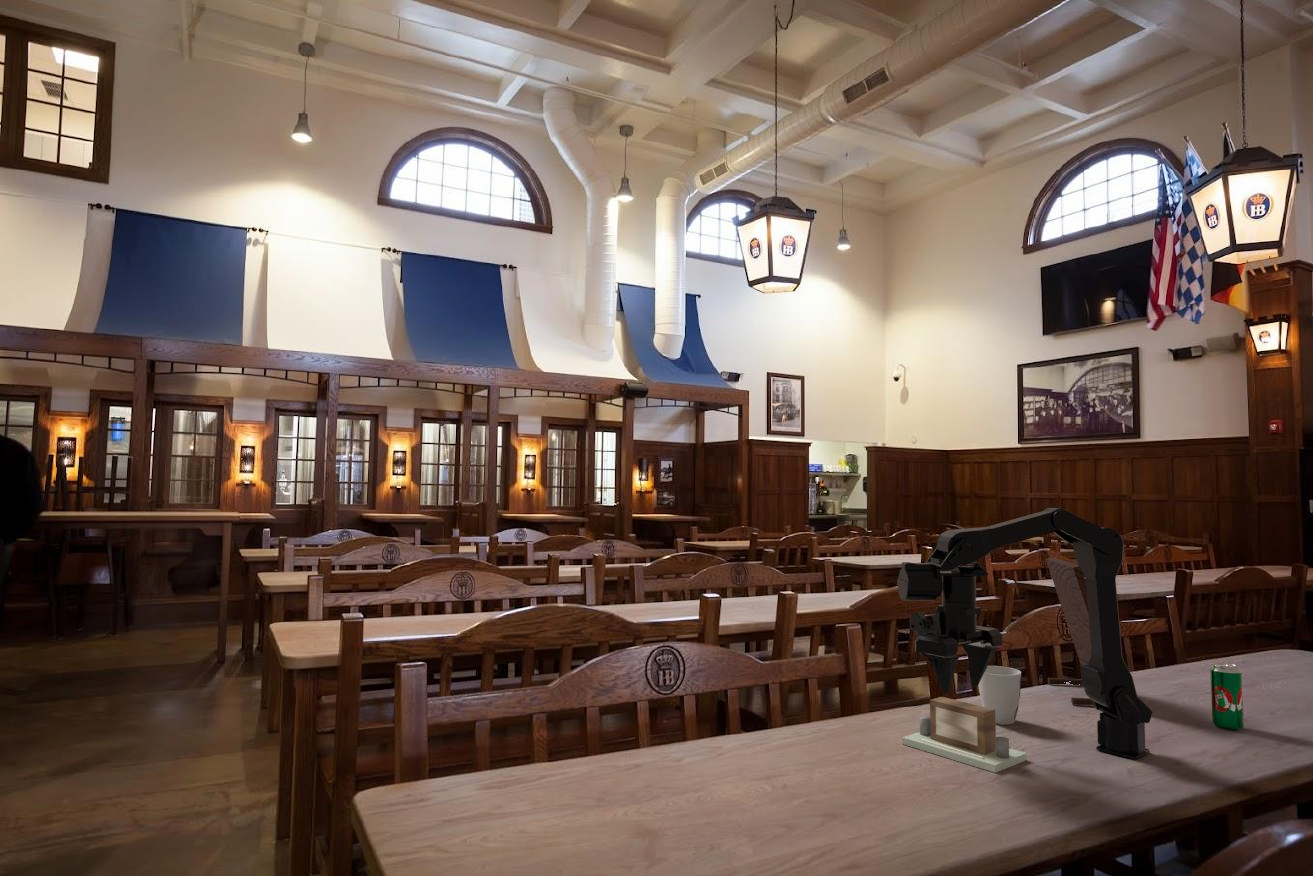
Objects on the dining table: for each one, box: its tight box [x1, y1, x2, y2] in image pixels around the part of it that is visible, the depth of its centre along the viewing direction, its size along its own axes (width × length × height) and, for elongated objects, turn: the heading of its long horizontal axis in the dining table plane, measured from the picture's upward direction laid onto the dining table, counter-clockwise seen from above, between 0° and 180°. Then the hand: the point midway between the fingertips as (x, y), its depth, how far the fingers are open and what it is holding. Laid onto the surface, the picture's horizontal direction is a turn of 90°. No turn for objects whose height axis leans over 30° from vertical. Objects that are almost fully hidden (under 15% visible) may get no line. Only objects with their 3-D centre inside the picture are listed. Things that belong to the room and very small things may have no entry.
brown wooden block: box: [929, 696, 997, 755], centre depth 140 cm, size 10×4×7 cm, turn 37°
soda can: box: [1209, 662, 1245, 732], centre depth 155 cm, size 5×5×12 cm
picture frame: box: [1045, 556, 1095, 706], centre depth 179 cm, size 21×11×30 cm, turn 168°
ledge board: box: [901, 715, 1028, 773], centre depth 140 cm, size 18×10×4 cm, turn 37°
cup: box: [978, 665, 1022, 726], centre depth 159 cm, size 8×8×10 cm
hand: (960, 689), depth 141 cm, fingers open, 9 cm apart
